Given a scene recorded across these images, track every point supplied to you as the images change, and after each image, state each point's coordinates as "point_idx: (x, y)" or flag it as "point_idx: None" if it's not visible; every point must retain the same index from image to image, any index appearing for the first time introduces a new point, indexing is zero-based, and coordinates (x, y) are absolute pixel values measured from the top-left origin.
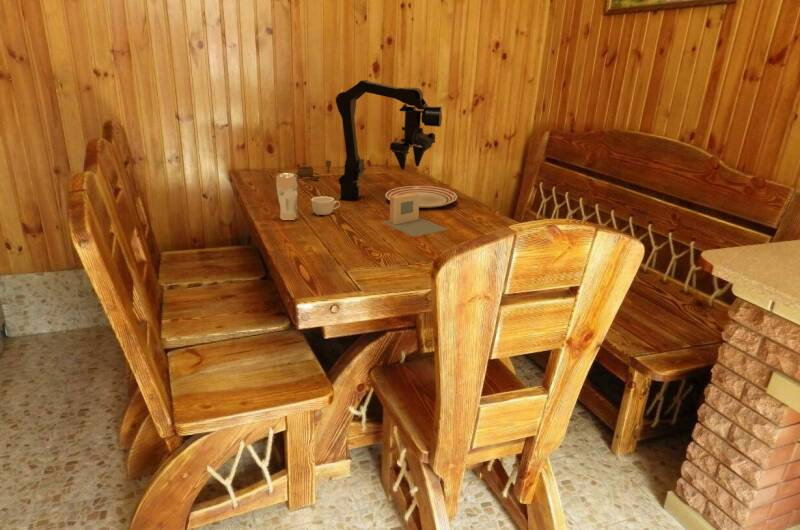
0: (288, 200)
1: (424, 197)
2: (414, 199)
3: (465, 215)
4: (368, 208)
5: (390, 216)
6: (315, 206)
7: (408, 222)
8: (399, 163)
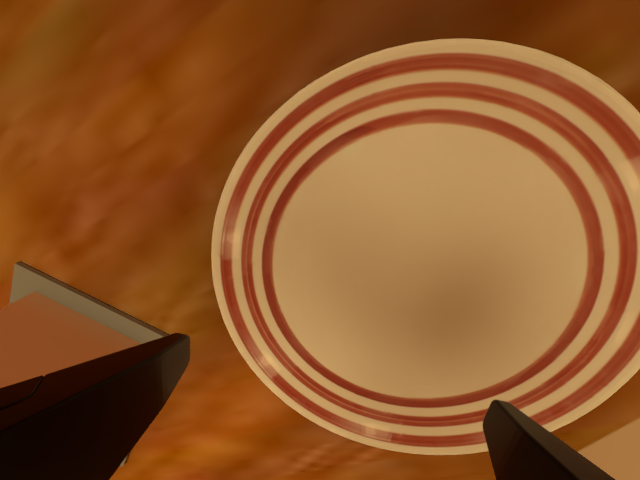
0: None
1: (482, 275)
2: None
3: (308, 475)
4: (134, 83)
5: (7, 308)
6: None
7: None
8: (103, 365)
